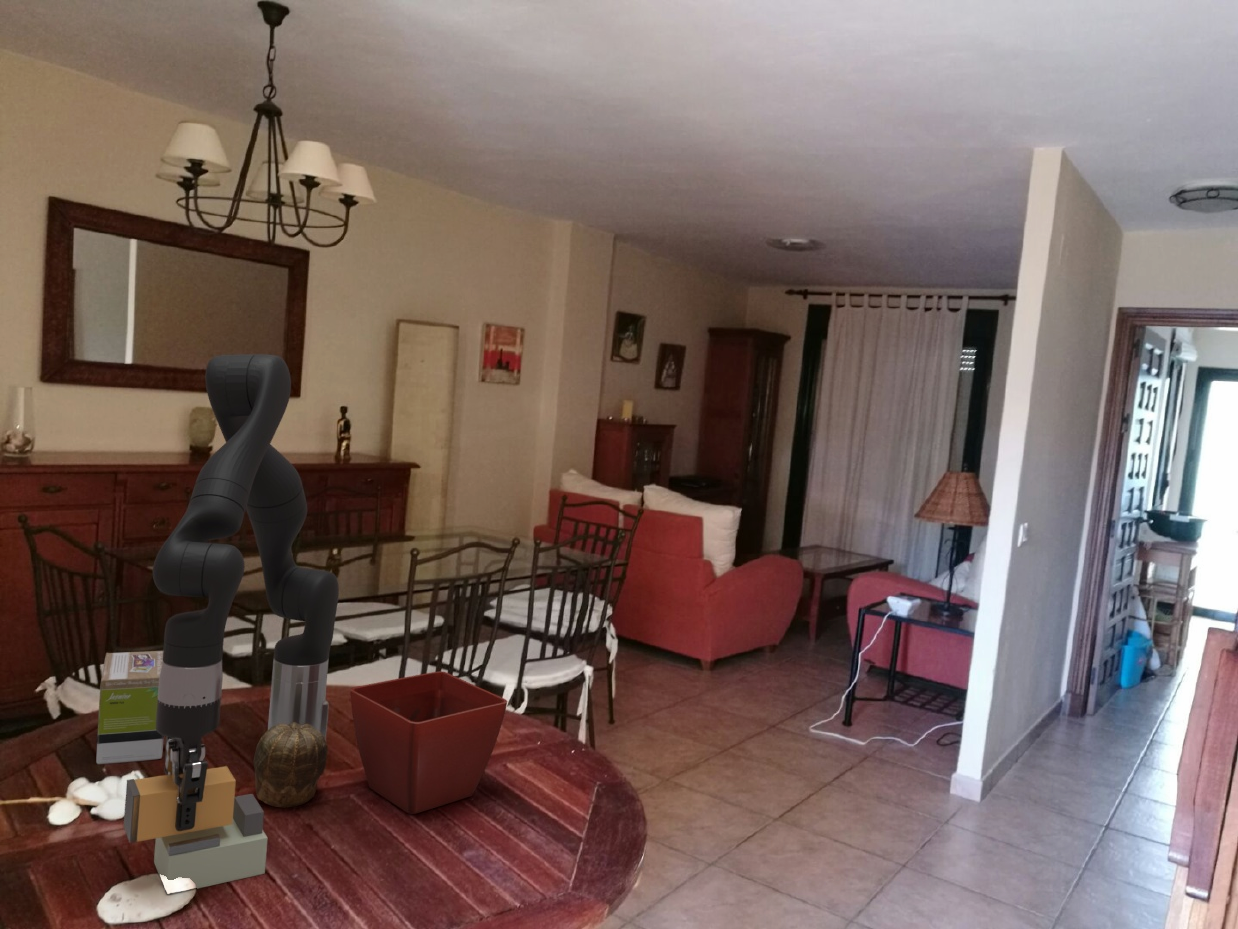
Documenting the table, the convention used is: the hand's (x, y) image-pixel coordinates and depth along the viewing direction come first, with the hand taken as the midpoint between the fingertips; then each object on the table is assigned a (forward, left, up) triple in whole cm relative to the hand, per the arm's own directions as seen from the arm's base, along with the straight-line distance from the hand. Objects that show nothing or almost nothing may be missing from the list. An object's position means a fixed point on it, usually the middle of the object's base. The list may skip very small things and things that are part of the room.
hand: (180, 819), depth 118 cm
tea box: (-1, -46, -8) cm, 47 cm away
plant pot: (-39, -10, -8) cm, 41 cm away
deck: (-4, 0, -8) cm, 9 cm away
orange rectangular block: (0, 0, -1) cm, 1 cm away
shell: (-19, -16, -8) cm, 26 cm away
